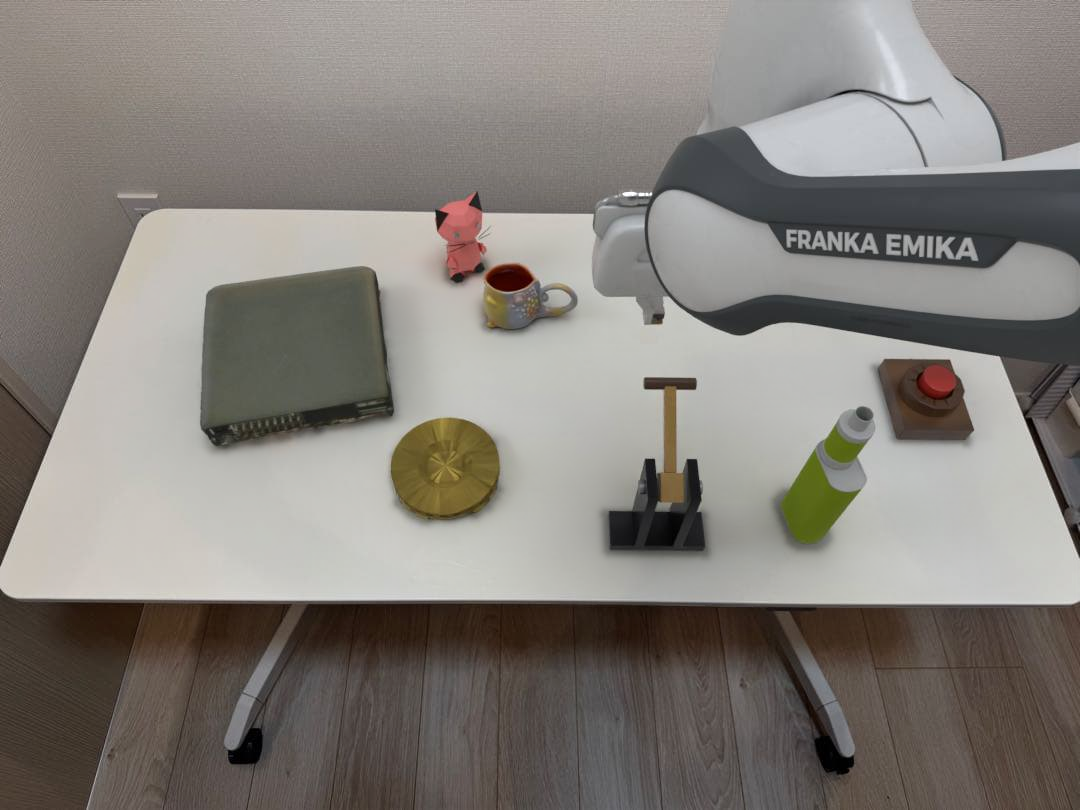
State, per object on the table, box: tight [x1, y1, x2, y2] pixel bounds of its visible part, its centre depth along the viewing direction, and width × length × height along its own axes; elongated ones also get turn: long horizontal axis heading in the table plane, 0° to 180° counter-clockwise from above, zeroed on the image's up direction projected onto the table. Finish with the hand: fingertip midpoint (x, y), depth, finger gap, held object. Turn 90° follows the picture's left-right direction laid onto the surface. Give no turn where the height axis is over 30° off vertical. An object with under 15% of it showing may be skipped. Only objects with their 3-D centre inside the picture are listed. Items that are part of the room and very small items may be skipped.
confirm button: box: [918, 366, 956, 399], centre depth 88 cm, size 4×4×2 cm
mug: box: [482, 262, 579, 330], centre depth 96 cm, size 12×7×7 cm, turn 80°
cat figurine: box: [434, 190, 491, 284], centre depth 98 cm, size 7×7×12 cm
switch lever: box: [642, 376, 698, 504], centre depth 74 cm, size 12×5×2 cm, turn 0°
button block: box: [877, 358, 975, 441], centre depth 90 cm, size 10×8×4 cm
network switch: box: [199, 265, 395, 447], centre depth 92 cm, size 23×23×5 cm
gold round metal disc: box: [389, 417, 501, 521], centre depth 85 cm, size 12×12×2 cm
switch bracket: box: [607, 457, 706, 552], centre depth 77 cm, size 4×10×13 cm, turn 89°
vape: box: [780, 405, 876, 545], centre depth 75 cm, size 4×6×20 cm, turn 11°
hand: (708, 318), depth 63 cm, fingers open, 8 cm apart
